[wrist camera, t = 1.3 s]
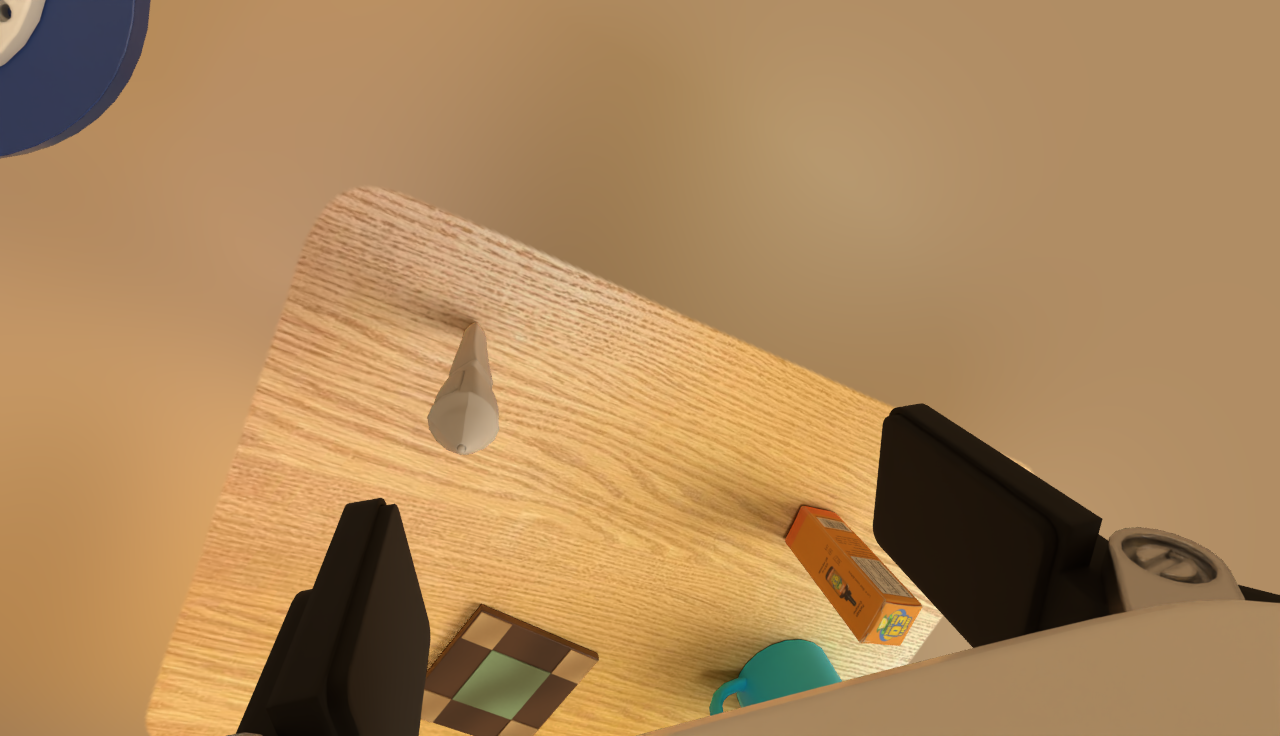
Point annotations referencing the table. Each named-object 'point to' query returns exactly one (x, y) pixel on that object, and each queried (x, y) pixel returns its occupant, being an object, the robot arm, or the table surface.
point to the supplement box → (852, 578)
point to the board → (502, 677)
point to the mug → (778, 674)
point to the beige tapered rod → (466, 399)
